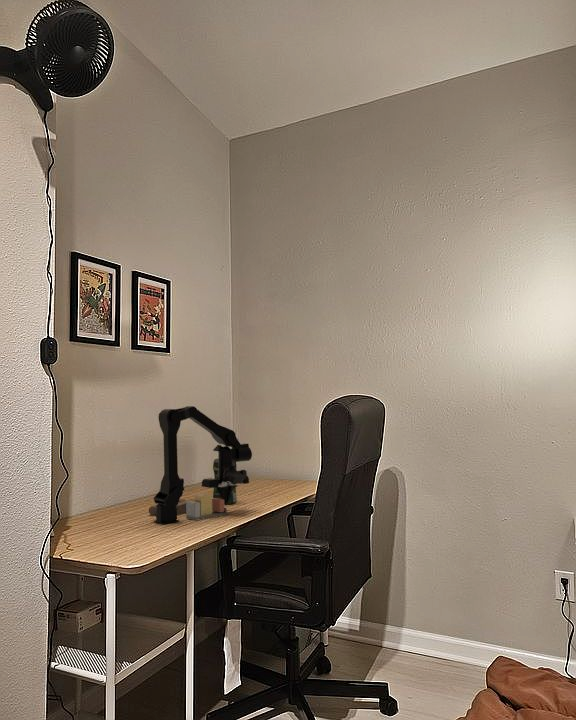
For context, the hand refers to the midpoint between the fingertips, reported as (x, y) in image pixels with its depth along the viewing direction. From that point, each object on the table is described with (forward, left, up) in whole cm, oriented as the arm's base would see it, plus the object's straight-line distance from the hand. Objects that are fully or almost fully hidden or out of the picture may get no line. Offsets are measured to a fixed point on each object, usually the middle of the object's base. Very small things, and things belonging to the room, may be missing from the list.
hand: (225, 504), depth 228 cm
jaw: (-4, 0, -2) cm, 4 cm away
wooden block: (-5, +20, -2) cm, 21 cm away
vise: (-9, 0, -3) cm, 9 cm away
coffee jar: (+13, +18, -4) cm, 23 cm away
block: (-10, 0, -2) cm, 11 cm away
